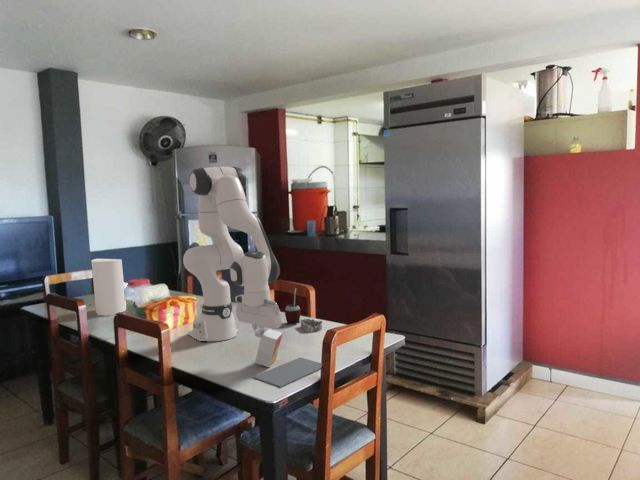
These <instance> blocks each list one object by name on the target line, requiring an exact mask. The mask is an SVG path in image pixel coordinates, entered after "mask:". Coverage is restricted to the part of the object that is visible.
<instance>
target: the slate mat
mask: <svg viewBox="0 0 640 480" xmlns="http://www.w3.org/2000/svg"><path fill="white" fill-rule="evenodd" d="M320 370H322V369H321V362H318V361H315V360H311V359H308V358H304V357H300V356H299V357H298V358H295V359H293V360H291V361H288V362H285V363H283V364H281V365H279V366H278V365H277V366H276V367H273V368H271V369H269V370H265V371H264V372H261V373H259V374H256V375H253V377H252V378H253V379H255V380H259V381H262V382H264V383H267V384H270V385H272V386H276V387H278V388H283V387H285V386H287V385H289V384H292V383H294V382H296V381H298V380H300V379H303V378H305V377H307V376H309V375H311V374H313V373H315V372H317V371H318V372H319V371H320Z"/></svg>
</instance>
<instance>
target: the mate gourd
mask: <svg viewBox="0 0 640 480" xmlns="http://www.w3.org/2000/svg"><path fill="white" fill-rule="evenodd" d="M296 292H297V288H294V293H293V304H288V305H286V307H285V309H284V316H285V321H286V325H292V324H293V325H295V326H297V324H298V323H300V324H301V322H300V319H301V308H300V306H299V305H297V304H296Z"/></svg>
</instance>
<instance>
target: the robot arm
mask: <svg viewBox="0 0 640 480" xmlns="http://www.w3.org/2000/svg"><path fill="white" fill-rule="evenodd" d="M189 185H190V189H191V191H192V192H193V193H194V194H196V195H198V198H197V201H198V202H197V208H198V209H197V213H198V230H200V232H201V233H202V234H203V235H205V236H207V237H210V238H211V241H212V244H207V245H206V244H205V245H198V246H195V247H191V248H189V249H187V250H186V251H185V253H184V254H183V256H182V257H183V259H182V261H183V266H184V268H185V269H186V270H187V271H188V272H189V273H190V274H192V275H193V276H195V277H196V279H197V280H198V282H199V284H200V286H201V290H202V291H201V292H202V298H203V304H201V305H199V306H200V308H201V313H200V314H199V315H198V316H197V317H195V319H194V320H193V322H192V329H191V330H189V331H188V332H187V335H188V336H189V335H190V336H189V337H191V336H192V337H191V338H193V339H194V338H195V340H196V339H197V340H196V341H198V340H199V341H198V342H200V341H207V342H220V341H222V342H223V341H228V340H231V339H233V338H235V337H236V336H237V335H238V331H239V329H238V328H237V327H236V319H237V320H238V322H242V323H245V324H250V325H251V328H252V330H253V331H254V336H255V338H260V339H261V336H262V335H263V334H264V333H265V332H266V329H271V330H275V329H278V328H280V327H281V326H282V317H281V309H280V308H279V305H278V304H277V302H276V301H274V300H271V294H270V293H271V291H270V286H269V284H273V283H275V281H277V279H278V278H279V276H280V273H281V268H280V264H279V262H278V260H277V258H276V257H275V254H274V252H273V250H272V246H271V245H270V241H269V239H268V237H267V234H266V232H265V228H264V227H263V224H262V222H261V220H260V218H259V217H258V216H256V215H255V214H253V212H252V210H251V209H250V208H249V205H248V201H247V198H246V193H245V189H246V186H247V175H246V173H245V171H244V169H242V168H240V167H237V166H232V167H231V166H211V167H199V168H198V167H197V168H195V169H193V170H192V172H191V173H190V175H189ZM228 228H230V229H234V230H237V231H241V232H243V233H245V234H247V235H249V236H250V237H251V238H252V241H253V243H254V245H255V248H256V250H257V251H247V252H245V253H244V250H243V247H242V246H241V245H240V244H238V242H236V241H235V240H234V239H233V238H232V236H231V235H230V233H229V229H228ZM222 270H229V278H230V281H231V283H233V284H234V285H235V286H237V287H244V289H243V293H242V294H239V295H236V296H235V303H236V305H235V314H236V319H235V315H234V312H233V303H232V300H231V287H230V284H229V282H228V281H227V280H225V279H222V278H221V277H218V275H217V274H218V273H217V272H218V271H222Z"/></svg>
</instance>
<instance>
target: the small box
mask: <svg viewBox="0 0 640 480" xmlns="http://www.w3.org/2000/svg"><path fill="white" fill-rule="evenodd" d="M283 334H284V333H283V332H280V331H278V330H275V329H271V328H267V330H265V331H264V334H263V335H262V336H261V338H260V340H259V344H258V349H257V353H256V357H255V360H254V364H257V365H260V366H264V367H267V368H271V366H272V365H273V364H274V362H275V361H276V360H277V356H278V352H279V349H280V345H281V341H282V338H283Z"/></svg>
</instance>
